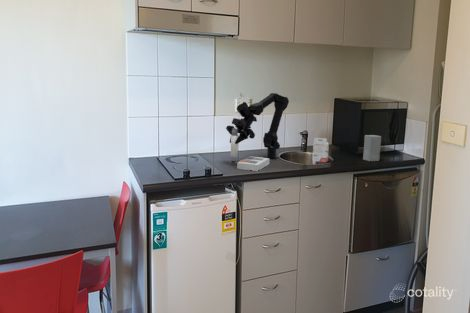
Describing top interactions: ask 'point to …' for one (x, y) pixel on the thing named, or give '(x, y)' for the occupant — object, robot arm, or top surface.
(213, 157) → the top surface
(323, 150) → the ink cartridge box
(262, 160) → the socket block
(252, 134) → the robot arm
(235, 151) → the white bottle
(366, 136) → the skincare box
